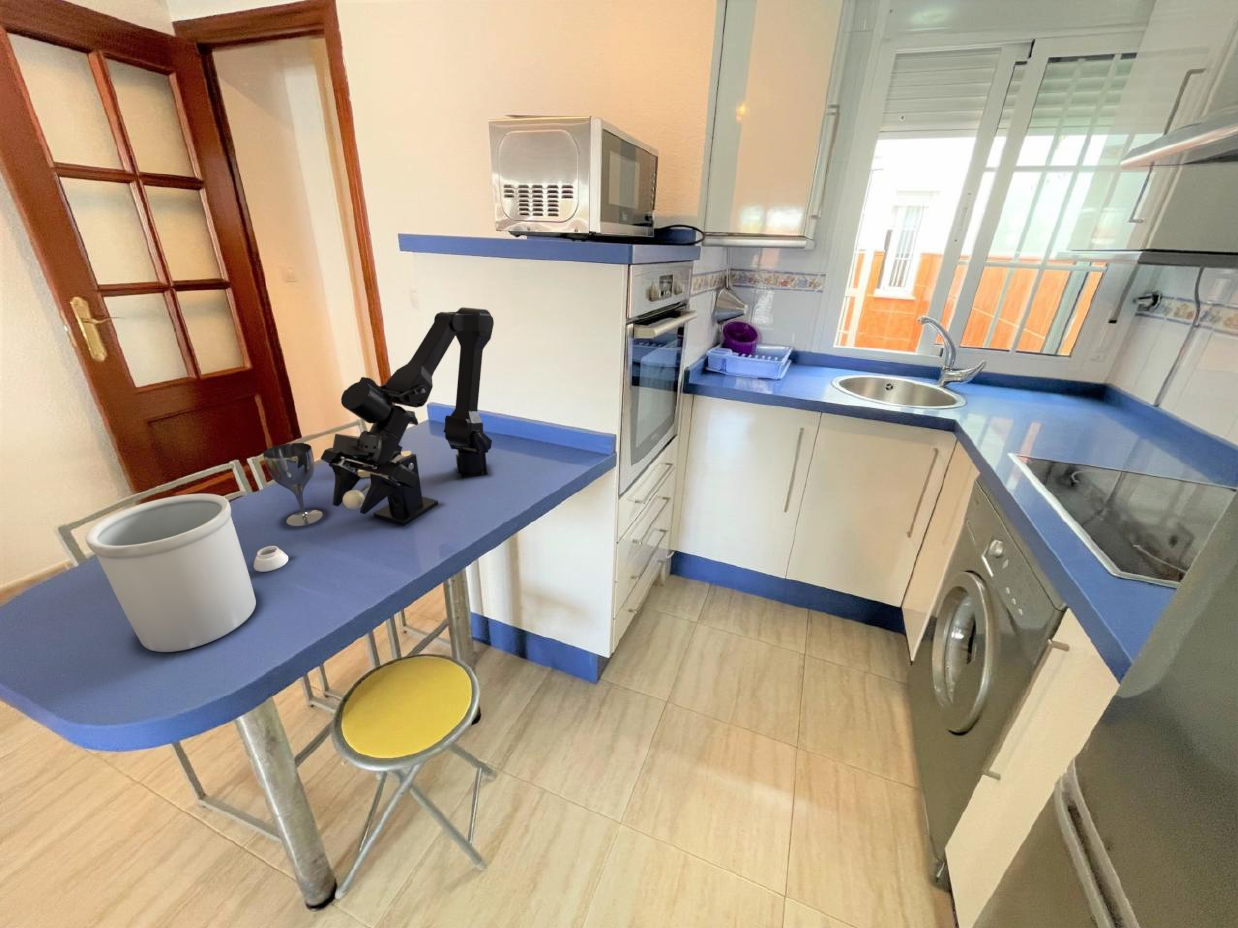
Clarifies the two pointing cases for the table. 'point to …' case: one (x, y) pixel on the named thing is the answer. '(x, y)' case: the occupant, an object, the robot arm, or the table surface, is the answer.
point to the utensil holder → (176, 570)
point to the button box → (367, 474)
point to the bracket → (406, 498)
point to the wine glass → (293, 475)
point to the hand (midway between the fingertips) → (348, 509)
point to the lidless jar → (270, 559)
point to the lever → (360, 493)
